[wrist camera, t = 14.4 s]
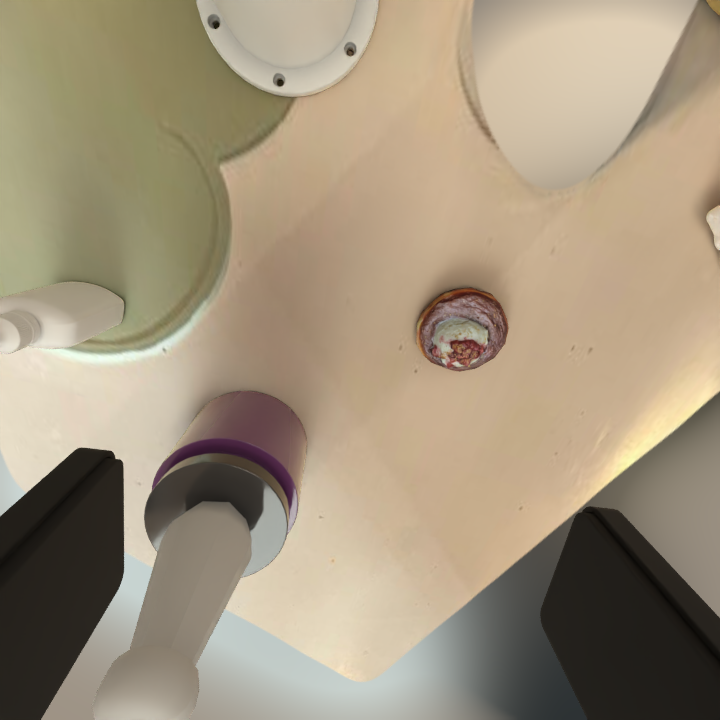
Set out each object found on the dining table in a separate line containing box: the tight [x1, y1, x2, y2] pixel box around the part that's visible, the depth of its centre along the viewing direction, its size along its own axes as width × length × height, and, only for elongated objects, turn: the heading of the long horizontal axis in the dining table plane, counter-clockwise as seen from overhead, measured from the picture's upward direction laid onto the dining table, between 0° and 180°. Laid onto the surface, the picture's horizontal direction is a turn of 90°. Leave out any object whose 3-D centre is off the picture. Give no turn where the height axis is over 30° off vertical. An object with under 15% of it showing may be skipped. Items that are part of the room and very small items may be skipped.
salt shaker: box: [92, 501, 252, 720], centre depth 25 cm, size 6×6×13 cm
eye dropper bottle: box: [0, 282, 124, 354], centre depth 32 cm, size 4×6×12 cm
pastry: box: [416, 288, 508, 371], centre depth 37 cm, size 8×8×5 cm
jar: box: [144, 391, 307, 578], centre depth 37 cm, size 11×11×12 cm
